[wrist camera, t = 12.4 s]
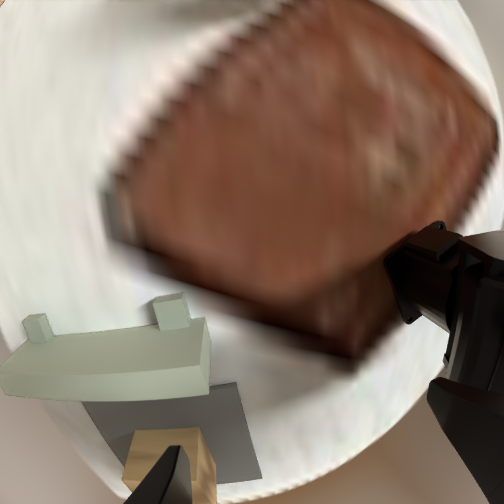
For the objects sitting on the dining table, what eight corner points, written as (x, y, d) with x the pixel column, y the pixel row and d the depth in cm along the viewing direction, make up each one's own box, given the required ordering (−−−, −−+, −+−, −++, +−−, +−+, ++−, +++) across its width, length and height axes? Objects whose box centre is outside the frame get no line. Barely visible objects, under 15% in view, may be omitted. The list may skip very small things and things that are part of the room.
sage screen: (217, 364, 20) (217, 419, 15) (48, 376, 19) (18, 415, 14) (198, 289, 19) (189, 330, 13) (21, 316, 18) (-19, 347, 12)
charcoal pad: (261, 475, 24) (262, 478, 24) (139, 482, 23) (138, 485, 23) (235, 382, 21) (236, 386, 20) (81, 394, 20) (79, 397, 20)
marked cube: (216, 465, 22) (217, 514, 16) (158, 467, 22) (151, 513, 16) (199, 427, 21) (196, 482, 15) (135, 430, 21) (121, 480, 15)
